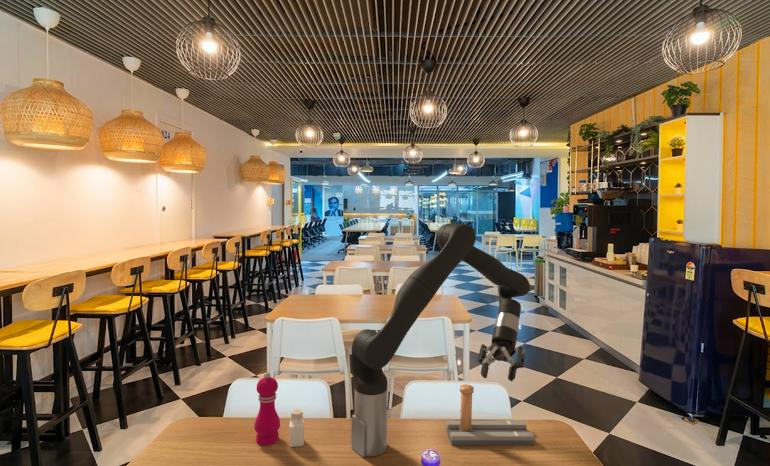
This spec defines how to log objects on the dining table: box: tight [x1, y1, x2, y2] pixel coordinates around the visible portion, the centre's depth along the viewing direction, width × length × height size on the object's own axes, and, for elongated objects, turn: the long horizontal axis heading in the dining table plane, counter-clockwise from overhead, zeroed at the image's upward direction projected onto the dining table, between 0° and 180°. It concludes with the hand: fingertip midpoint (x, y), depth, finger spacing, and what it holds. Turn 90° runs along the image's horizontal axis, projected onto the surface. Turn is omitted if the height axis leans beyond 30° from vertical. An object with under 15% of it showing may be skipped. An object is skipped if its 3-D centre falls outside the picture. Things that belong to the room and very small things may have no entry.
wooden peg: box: [459, 384, 475, 432], centre depth 128 cm, size 4×4×14 cm
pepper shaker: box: [289, 408, 305, 448], centre depth 123 cm, size 4×4×10 cm
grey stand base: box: [446, 420, 536, 446], centre depth 128 cm, size 24×9×3 cm, turn 91°
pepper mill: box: [254, 372, 281, 446], centre depth 125 cm, size 7×7×20 cm
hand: (496, 378), depth 130 cm, fingers open, 8 cm apart
